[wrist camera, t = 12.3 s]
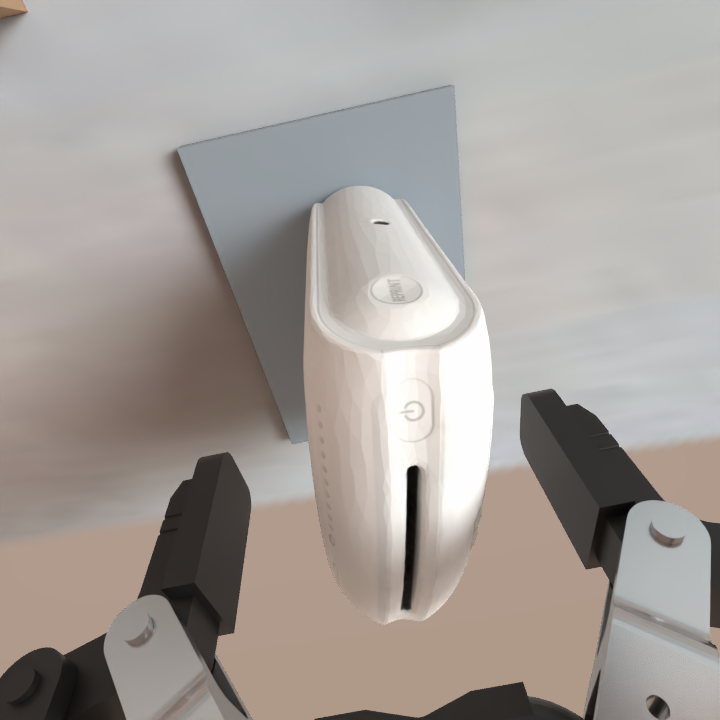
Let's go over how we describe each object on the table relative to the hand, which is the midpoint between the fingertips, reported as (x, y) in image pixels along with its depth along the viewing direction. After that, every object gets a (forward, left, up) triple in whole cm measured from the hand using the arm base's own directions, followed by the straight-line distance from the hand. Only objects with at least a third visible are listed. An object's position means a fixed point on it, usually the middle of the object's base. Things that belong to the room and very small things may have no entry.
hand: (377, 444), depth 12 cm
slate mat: (0, 0, -10) cm, 10 cm away
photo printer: (0, 0, -9) cm, 9 cm away
